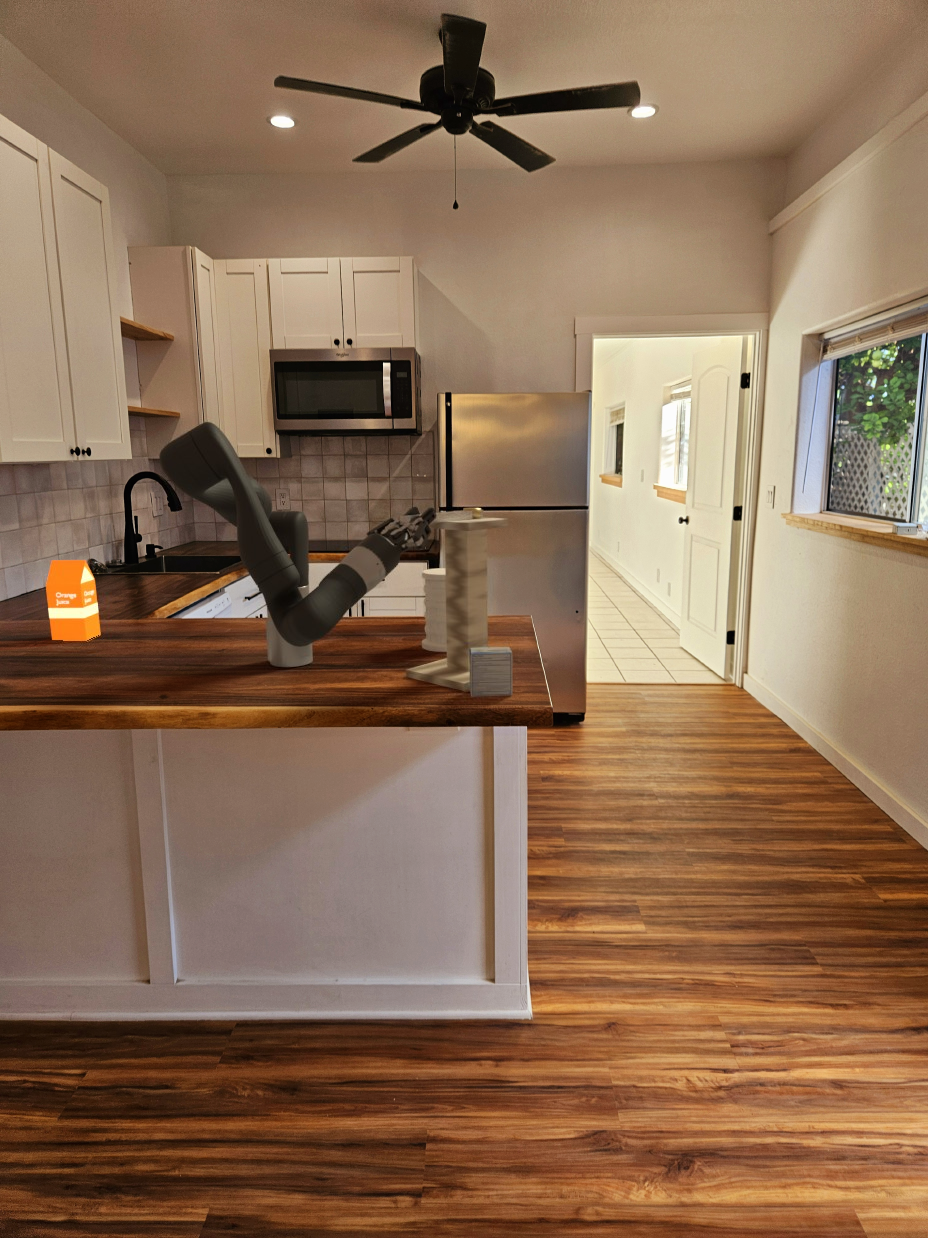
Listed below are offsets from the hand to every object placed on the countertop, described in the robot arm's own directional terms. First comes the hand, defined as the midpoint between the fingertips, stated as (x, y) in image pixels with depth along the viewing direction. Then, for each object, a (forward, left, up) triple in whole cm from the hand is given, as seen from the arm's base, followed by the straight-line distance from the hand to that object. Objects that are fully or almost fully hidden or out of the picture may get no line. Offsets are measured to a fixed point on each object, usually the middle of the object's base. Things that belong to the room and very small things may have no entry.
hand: (425, 511), depth 151 cm
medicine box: (+13, +4, -34) cm, 37 cm away
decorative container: (-20, +27, -34) cm, 48 cm away
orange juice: (-99, -26, -34) cm, 108 cm away
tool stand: (0, +9, -34) cm, 35 cm away
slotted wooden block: (0, +6, -2) cm, 6 cm away
